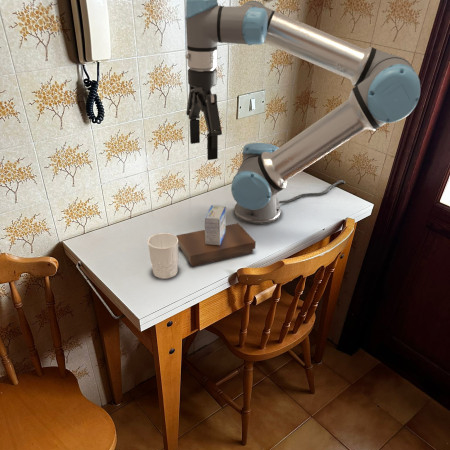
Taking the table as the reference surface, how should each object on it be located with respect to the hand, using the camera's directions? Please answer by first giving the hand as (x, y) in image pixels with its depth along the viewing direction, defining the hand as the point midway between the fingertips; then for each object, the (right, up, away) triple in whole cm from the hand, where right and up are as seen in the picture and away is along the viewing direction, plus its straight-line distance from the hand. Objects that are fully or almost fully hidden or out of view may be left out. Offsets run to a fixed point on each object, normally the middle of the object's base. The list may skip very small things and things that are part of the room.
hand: (203, 150), depth 126 cm
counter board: (+3, -28, +5) cm, 28 cm away
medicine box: (+3, -25, +2) cm, 25 cm away
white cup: (-10, -35, -4) cm, 37 cm away
